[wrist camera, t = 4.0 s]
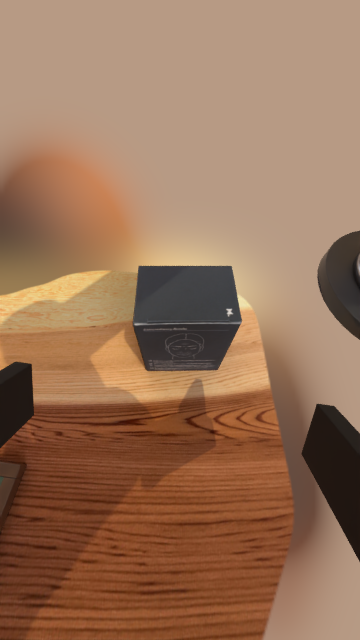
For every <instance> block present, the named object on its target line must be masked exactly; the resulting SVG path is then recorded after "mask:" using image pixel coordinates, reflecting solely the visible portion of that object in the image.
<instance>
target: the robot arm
mask: <svg viewBox="0 0 360 640" xmlns="http://www.w3.org/2000/svg"><path fill="white" fill-rule="evenodd" d="M353 274H354V278H355V281H356V283H357V285H358V287H359V288H360V253H359V254H358V256H357V257H356V258H355V260H354V264H353ZM33 415H34V406H33V385H32V364H28V363H21V362H14V363H12V364H11V365H9V366H7V367H6V368H4V369H2V370H1V371H0V448H1V447H2V446H3V445H4V444H5V443H6V442H7V441H8V440H9V439H10V438H11V437H12V436H13V435H14V434H15V433H16V432H17V431H18V430H19V429H20V428H21V427H22V426H23V425H24V424H25V423H26V422H27V421H28V420H29V419H30V418H31V417H32V416H33ZM302 456H303V457H304V459H305V461H306V463H307V465H308V467H309V468H310V470H311V472H312V474H313V476H314V478H315V480H316V482H317V483H318V485H319V487H320V489H321V491H322V493H323V494H324V496H325V498H326V500H327V502H328V504H329V506H330V508H331V509H332V511H333V513H334V515H335V516H336V519H337V520H338V522H339V524H340V526H341V528H342V530H343V532H344V533H345V535H346V537H347V539H348V541H349V543H350V545H351V546H352V548H353V550H354V552H355V554H356V556H357V557H358V559H359V561H360V433H359V432H358V431H357V430H356V429H355V428H354V427H353V426H352V425H351V424H350V423H349V422H348V420H347V419H346V418H345V417H344V416H343V415H342V414H341V413H340V412H339V411H338V410H337V409H336V408H335V407H334V406H330V405H322V404H317V405H316V409H315V412H314V415H313V418H312V421H311V425H310V428H309V431H308V434H307V438H306V441H305V444H304V447H303V450H302Z"/></svg>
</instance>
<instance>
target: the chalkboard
mask: <svg viewBox="0 0 360 640" xmlns="http://www.w3.org/2000/svg"><path fill="white" fill-rule="evenodd" d="M25 468H26V464H20V463H14V462H7V461H1V460H0V533H1V530H2V528H3V525H4V523H5V520H6V517H7V515H8V512H9V510H10V507H11V504H12V502H13V499H14V497H15V494H16V492H17V489H18V486H19V484H20V481H21V477H22V475H23V473H24V470H25Z"/></svg>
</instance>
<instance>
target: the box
mask: <svg viewBox="0 0 360 640" xmlns="http://www.w3.org/2000/svg"><path fill="white" fill-rule="evenodd" d="M241 322H242V318H241V314H240V309H239V303H238V298H237V292H236V287H235V281H234V276H233V270H232V266H139V268H138V279H137V289H136V298H135V308H134V317H133V327H134V331H135V334H136V337H137V340H138V344H139V347H140V351H141V354H142V358H143V360H144V364H145V368H146V370H147V371H191V370H218V368H219V366H220V364H221V362H222V360H223V358H224V356H225V354H226V352H227V350H228V348H229V347H230V345H231V342H232V340H233V339H234V336H235V334H236V332H237V331H238V329H239V326H240V324H241Z"/></svg>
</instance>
